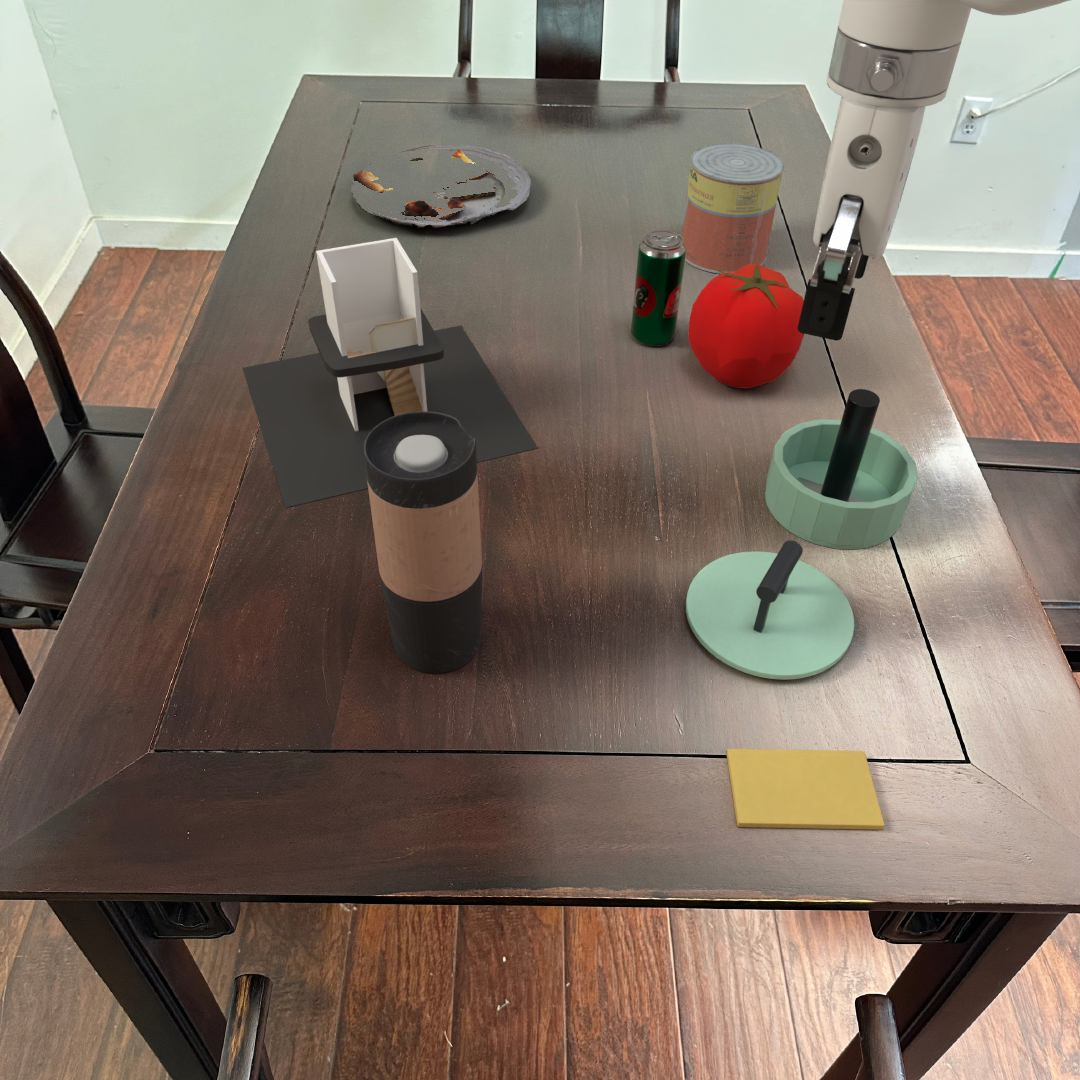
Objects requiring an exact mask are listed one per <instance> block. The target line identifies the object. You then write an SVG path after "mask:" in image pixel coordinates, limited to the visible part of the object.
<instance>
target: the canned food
mask: <svg viewBox="0 0 1080 1080" xmlns="http://www.w3.org/2000/svg"><path fill="white" fill-rule="evenodd" d="M689 166H690V167H689V174H688V182H687V191H686V199H685V207H684V216H683V224H682V231H681V236H682V237H683V239H684V243H683V244H684V246H685V248H686V255H685V263H687V264H689V265H690V266H691V267H694V268H696V269H698V270H701V271H704V272H708V273H712V274H718V275H720V274H723V273H721V272H719V271H722V272H725V273H726V272H735V271H737V270H738V269H740V268H742V267H744V266H746V265H750V264H759V265H761V266H764V265H765V263H766V261H767V257H768V250H769V249H768V248H769V242H770V238H771V234H772V233H771V232H772V228H773V224H774V217H775V212H776V207H777V202H778V195H779V193H780V186H781V182H782V177H783V172H784V170H785V164H784V162H783V160H782V158H781V157H780V156H779V155H777V154H776V153H773V152H772V151H770V150H767V149H764V148H762V147H760V146H759V147H758V146H755V145H750V144H744V143H732V142H731V143H729V142H726V143H715V144H710V145H706V146H703V147H701V148H699V149H697V150H695V151H694V152H692V154H691V155H690V165H689ZM714 269H715V270H714ZM717 270H718V271H717Z"/></svg>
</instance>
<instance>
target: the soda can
mask: <svg viewBox="0 0 1080 1080" xmlns="http://www.w3.org/2000/svg"><path fill="white" fill-rule="evenodd" d="M683 243H684V239H683V237H682V234H680V233H678V232H675V231H673V230H668V229H655V230H650V231H648V232H646V233H645V234H644V235H643V237H642V241H641V242H640V243H639V244H638V251H637V262H636V273H635V284H634V285H635V286H634V293H633V304H632V315H631V327H630V333H631V335H632V337H633V338H634V339H635V340H636V341H637V342H638V343H640V344H642V345H643V346H644V345H645V346H648V347H660V346H661V347H662V346H664V345H667V344H668V343H669V342H671V341H672V340H673V339H674V338H675V337H676V332H677V323H678V316H679V315H678V314H679V309H680V308H679V307H680V299H681V293H682V286H683V277H684V269H685V263H686V261H685V255H686V248H685V246H684V244H683Z"/></svg>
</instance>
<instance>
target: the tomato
mask: <svg viewBox="0 0 1080 1080" xmlns="http://www.w3.org/2000/svg"><path fill="white" fill-rule="evenodd" d="M714 270H715V269H714ZM717 271H718V270H717ZM719 272H721V273H723V274H718V275H717V276H715V277H713V278H712V279H711V280H710V281H709V282H707V284H706V285H705V286H704V287H703V288H702V289H701V291H700V292H699V294H698V296H697V298H696V299H695V300H694V302H693V304H692V307H691V311H690V315H689V321H688V334H687V336H688V343H689V346H690V348H691V350H692V353H693V354H694V356H695V357H696V360H697V361H698V363H699V365H700V367H701V368H702V369H703V370H704V371H705V372H706V373H708V374H709V375H710V376H711V377H712V378H713V379H714V380H716V382H718V383H721V384H723V385H727V386H729V387H732V388H735V389H752V388H755V387H759V386H763V385H766V384H769V383H772V382H774V381H776V380H777V379H779V378H780V377H781V375H783V373H785V371H787V370H788V369H789V368H790V367H791V366H792V363H794V360H795V358H796V356H797V354H798V353H799V351H800V347H801V345H802V342H803V340H804V337H805V334H803V333H800V332H799V331H798V323H799V319H800V315H801V310H802V306H803V302H804V297H803V296H802V295H800V294H799V293H798V292H797V291H795V290H794V289H793V288H791V287H790V285H789V282H788V281H787V279H786V276H784V274H782V272H779V271H777V270H774V269H772V268H769V267H767V266H764V265H762V266H761V265H759V264H750V265H746V266H744V267H742V268H740V269H738V270H737V271H735V272H726V273H725V272H722V271H719Z"/></svg>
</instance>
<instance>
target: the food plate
mask: <svg viewBox="0 0 1080 1080" xmlns="http://www.w3.org/2000/svg"><path fill="white" fill-rule="evenodd" d="M426 148H427V149H430V150H433V149H435V150H442V151H443V150H446V151H447V150H448V151H452V150H453V151H457V152H455V153H454V154H453V155H452V157H451V158H460V159H462V160H463V161H464V162H465V163H472V164H474V163H475V162H472V160H471V159H469V158H468V157H467V156H465V154H464V153H466V154H470V155H474V156H479V157H480V158H484V159H487V160H489V161H494V163H496V164H498V165H501V166H502V170H508V171H510V172H508V174H507V176H508V177H507V178H509V179H513V180H512V181H514V183H516V184H517V185H516V186H515V187H512V189H511V190H514V189H516V190H518V192H517V193H518V195H517V196H516V197H515V198H514V199H511V200H510V202H509V203H511V204H508V205H506V206H504V207H499V208H496V207H495V205H497V204H498V203H500V202H501V201H502V199H503V197H504V195H505V188H504V185H503V183H502V182H501V181H500V180H498V179H496V177H494V176H495V175H494V174H492V173H490V172H488V170H486V169H485V170H486V172H488V173H485V174H483V175H481V176H478V177H474V178H472V179H471V178H469V180H481V179H490V178H491V179H492V183H494V185H495V186H496V187H493V188H494V189H495V192H488V193H481V194H473V195H467V196H461V197H452V198H450V201H449V202H448V203H447V204H448V207H449V208H450V209H453V208H462V207H463V206H464V205H465V206H466V208H465V209H464V210H461V211H458V212H456V213H452V214H449V215H446V216H443V217H441V218H439V219H440V220H441V222H433V221H432V220H426V219H425V218H424V220H418V219H416V218H415V219H407V218H405V219H404V220H403V219H397V218H392V217H388V216H387V217H388V218H387V217H385V216H384V215H383V216H382V215H380V216H382V217H384V218H385V219H384V218H383V219H384V220H388V221H389V220H391V221H393V222H392V223H394V222H396V223H398V224H397V225H403V226H411V227H412V226H413V227H414V225H415V227H416V226H418V227H417V228H420V227H422V228H424V227H426V226H432V228H436V229H438V228H442V227H446V226H455V225H466V224H467V222H469V223H470V225H473V224H474V223H477V222H478V221H481V220H482V219H483V218H482V217H484V218H487V217H491V216H490V215H492V216H494V215H495V214H497V213H499V212H504V211H505V210H506V211H507V210H508V211H514V210H516V209H517V208H519V207H520V206H521V205H523V204H524V202H526V201H528V198H529V197H530V192H531V183H532V179H531V176H530V175H529V173H528V169H525V167H524V166H523V165H522V164H521V163H519V162H518V161H516V160H515V159H513V158H512V157H510V156H509V155H507V154H504V153H499V152H497V151H494V150H491V149H488V148H483V147H479V146H470V145H459V144H458V145H433V146H432V145H423V146H418V147H413V148H410V149H406V150H402V151H400V152H398V153H402V152H406V151H415V150H421V149H424V150H426ZM411 159H412V160H410V161H418V160H423V158H421V157H419V158H411ZM475 164H476V163H475ZM478 166H479V165H478ZM499 168H500V167H499ZM483 169H484V168H483ZM493 175H494V176H493ZM352 177H353V178H352V180H353V179H354V181H358V182H359V183H361V184H362V185H364V186H366V187H367V188H369V189H371V190H374V191H380V192H378V193H383V192H384V191H385V190H386V191H391V190H393V188H389V189H384V188H383V187H382V186H381V185H380V184H378V183H372V182H371V181H374V180H378V179H379V178H378V177H375V176H374V175H373V174H372V173H371V172H367V171H365V172H364V171H362V170H359V171H357V172H356V173H353V175H352ZM466 181H467V180H466ZM455 183H457V182H455ZM460 183H467V182H459V183H457V184H460ZM447 188H449V187H447ZM453 188H454V187H453ZM513 188H514V189H513ZM443 189H444V188H443ZM451 189H452V188H451ZM444 190H447V189H444ZM433 193H436V194H438V195H440V194H445V192H433ZM435 196H436V195H435ZM440 196H441V197H438V198H442V199H447V200H448V197H446V196H443V195H440ZM438 198H437V199H438ZM404 207H405V211H404V212H405V214H404V212H401V213H402V215H405V216H414V217H416V216H421V217H422V216H431V217H436V216H437V215H439V214H438V212H437V211H436V210H435V209H432V206H430V205H428V203H426V202H425V201H424V200H422V201H421V200H418V201H411V202H408V203H406V206H404ZM434 208H436V207H434ZM490 208H491V210H490ZM436 209H439V210H445V209H442V208H436ZM492 211H493V212H492ZM372 213H373V212H372ZM391 213H392V212H391ZM395 213H398V212H395ZM401 213H399V214H401ZM373 214H375V215H378V216H379V214H380V213H379V214H376V213H373ZM486 216H487V217H486ZM382 217H381V218H382ZM464 217H467V218H469V219H467V220H465V219H463V218H464ZM481 218H482V219H481ZM477 219H479V220H477ZM391 221H390V222H391ZM422 221H423V222H422ZM460 222H463V223H460ZM396 223H395V224H396Z"/></svg>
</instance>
